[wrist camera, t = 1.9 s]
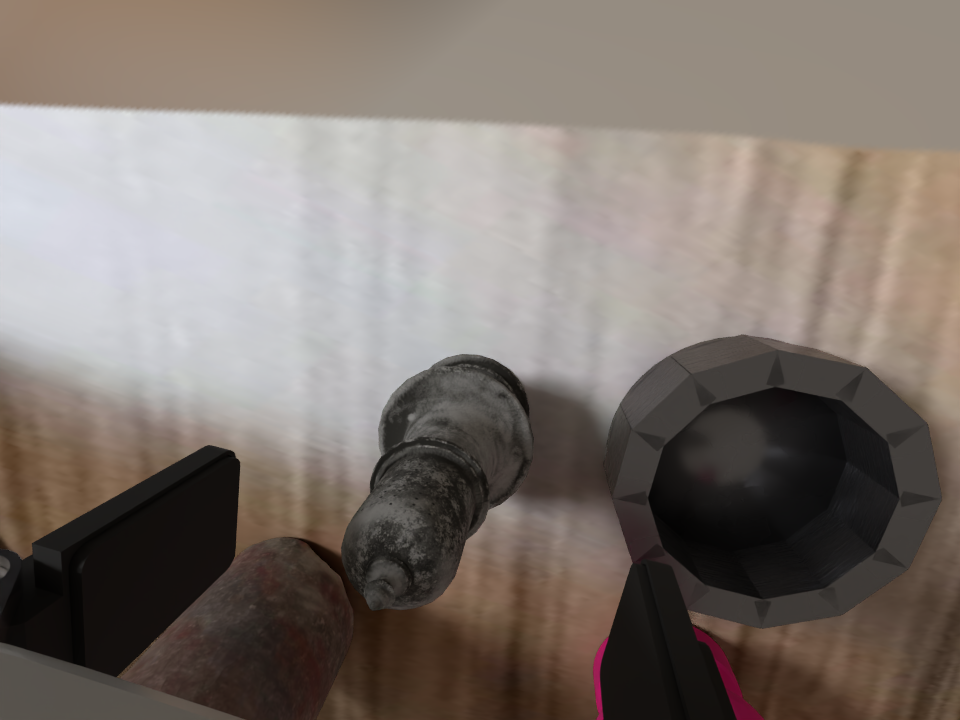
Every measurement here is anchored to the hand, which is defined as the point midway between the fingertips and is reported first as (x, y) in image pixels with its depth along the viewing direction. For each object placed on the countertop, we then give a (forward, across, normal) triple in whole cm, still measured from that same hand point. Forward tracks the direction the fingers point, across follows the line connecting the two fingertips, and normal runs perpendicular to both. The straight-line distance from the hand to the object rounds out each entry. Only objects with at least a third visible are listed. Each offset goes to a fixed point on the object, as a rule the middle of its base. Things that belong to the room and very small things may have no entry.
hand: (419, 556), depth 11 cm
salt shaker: (+11, +1, 0) cm, 11 cm away
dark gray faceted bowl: (+11, -10, 0) cm, 15 cm away
